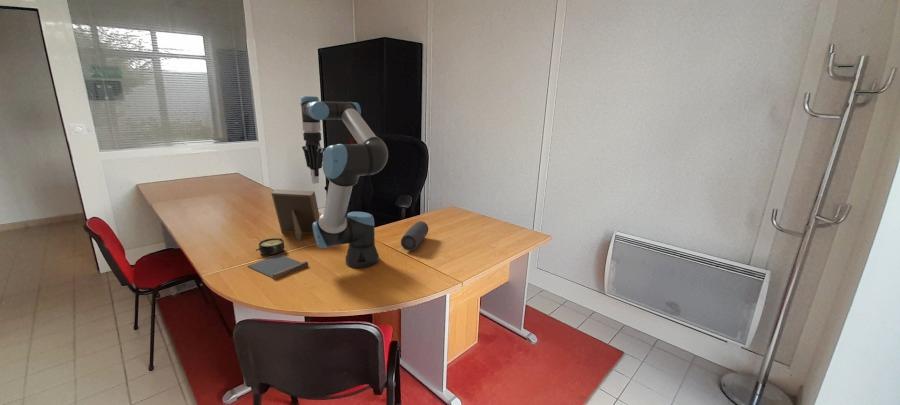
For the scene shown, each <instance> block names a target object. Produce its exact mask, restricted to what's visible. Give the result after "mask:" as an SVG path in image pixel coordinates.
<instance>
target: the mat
mask: <svg viewBox="0 0 900 405" xmlns="http://www.w3.org/2000/svg"><path fill="white" fill-rule="evenodd" d="M300 263H302V262H300V261H298V260H296V259H293V258H291V257H289V256H286V255H283V254H277V255H274V256H271V257H269V258H266V259H263V260H260V261H257V262H255V263H252V264H249V265H247V267H248V268H249V269H252V270H254V271H256V272H258V273H260V274H262V275H265V276H267V277H269V278H271V279H273V275H272V274H274V273H276V272H279V271H281V270H284V269H287V268H289V267H292V266H294V265H297V264H300Z"/></svg>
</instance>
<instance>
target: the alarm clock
mask: <svg viewBox="0 0 900 405" xmlns="http://www.w3.org/2000/svg"><path fill="white" fill-rule="evenodd" d="M284 250H285V242H284V240H283V238H280V237H279V238H276V237H275V238H268V239H267V238H266V239H263V240H261V241H260V242H259V243H258V248H257V249H255V251H256V252H257V251H258V252H260V253H261V254H263V255H265V257H266V258H267V257H268V256H269V255H275V254H279V253H280V252H282V251H284Z"/></svg>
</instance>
